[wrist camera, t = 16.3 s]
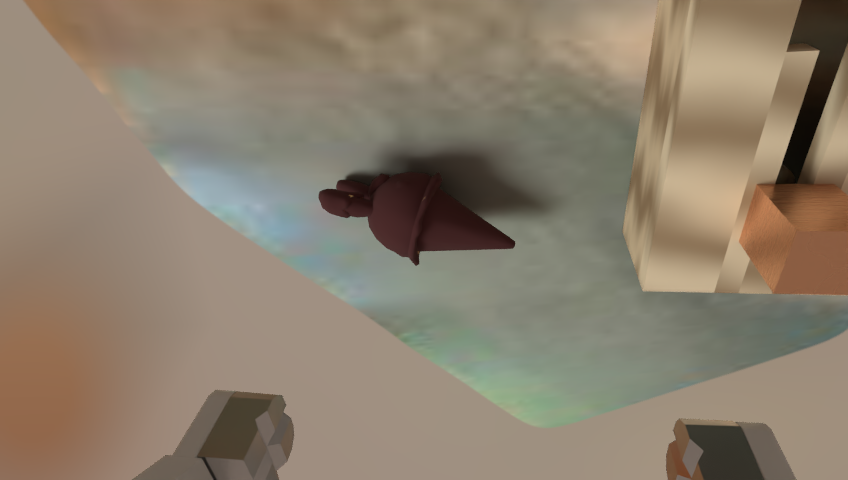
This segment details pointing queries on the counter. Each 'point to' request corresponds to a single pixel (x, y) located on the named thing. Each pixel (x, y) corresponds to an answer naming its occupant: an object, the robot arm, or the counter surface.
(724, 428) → the robot arm
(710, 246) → the keyhole plate
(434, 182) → the icecream
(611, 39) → the counter surface
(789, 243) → the wooden block
